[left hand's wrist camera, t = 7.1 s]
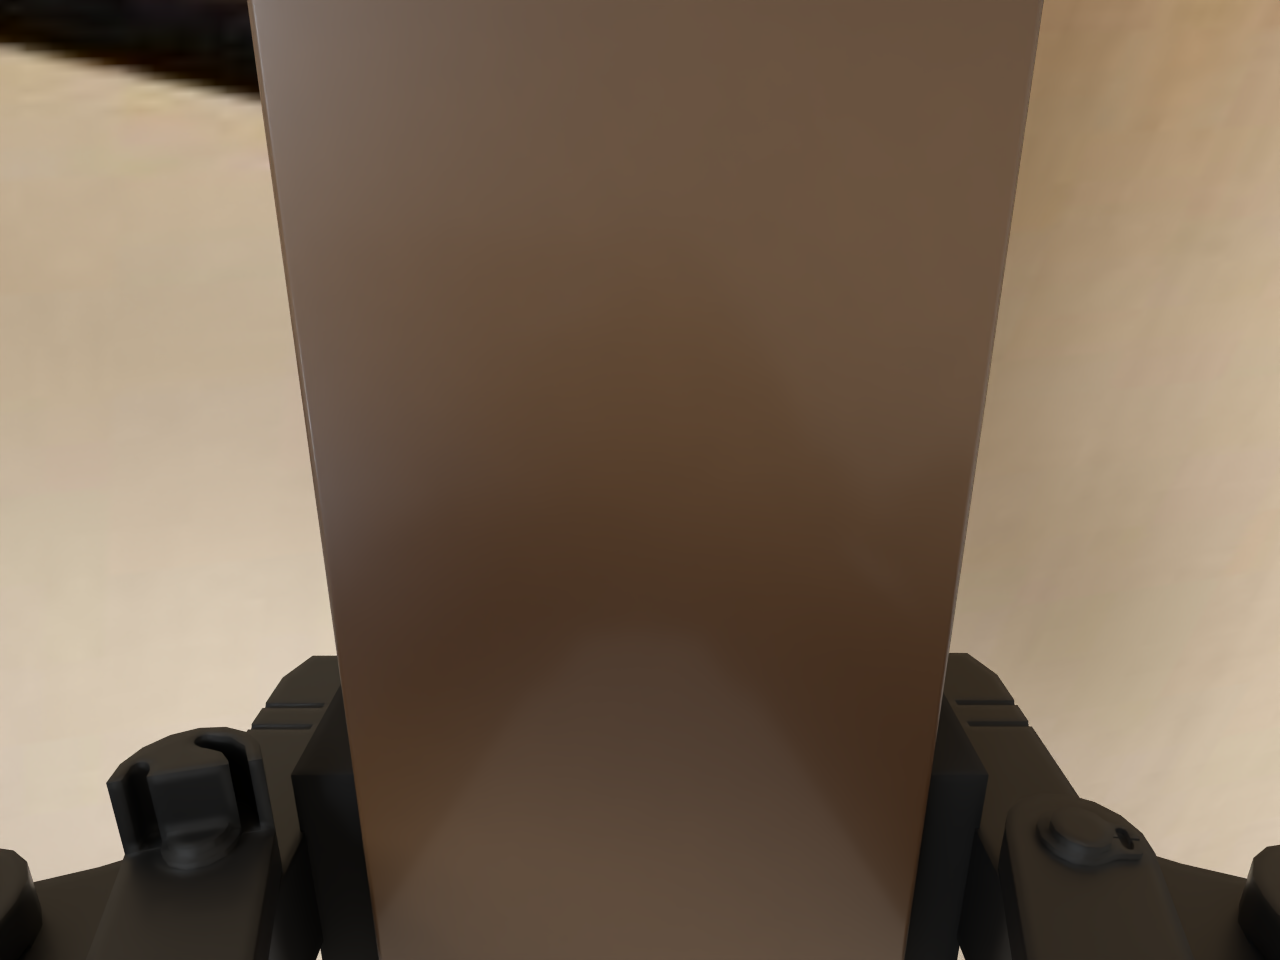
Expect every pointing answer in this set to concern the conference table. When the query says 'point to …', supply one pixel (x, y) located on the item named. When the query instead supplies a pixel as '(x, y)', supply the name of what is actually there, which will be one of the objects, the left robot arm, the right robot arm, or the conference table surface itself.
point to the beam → (643, 447)
